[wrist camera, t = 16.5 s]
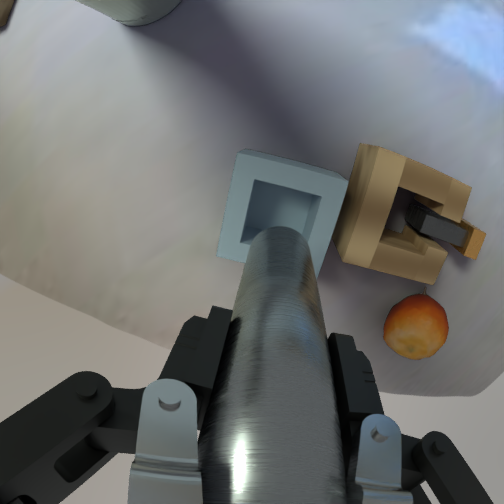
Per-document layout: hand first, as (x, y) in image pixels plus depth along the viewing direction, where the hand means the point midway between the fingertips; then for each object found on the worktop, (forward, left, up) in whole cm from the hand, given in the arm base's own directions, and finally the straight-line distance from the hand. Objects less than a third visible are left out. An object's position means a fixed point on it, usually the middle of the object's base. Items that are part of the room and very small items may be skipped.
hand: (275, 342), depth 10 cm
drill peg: (0, 0, -8) cm, 8 cm away
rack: (0, 0, -20) cm, 20 cm away
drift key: (-3, +17, -20) cm, 27 cm away
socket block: (-3, +11, -20) cm, 23 cm away
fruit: (+9, +19, -21) cm, 29 cm away
